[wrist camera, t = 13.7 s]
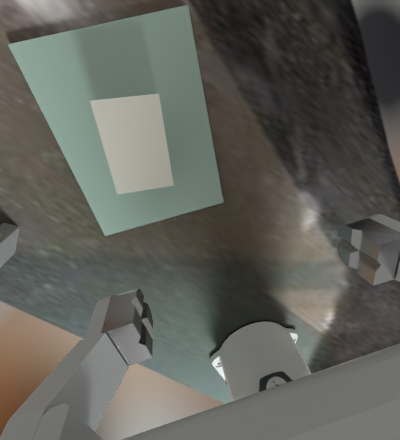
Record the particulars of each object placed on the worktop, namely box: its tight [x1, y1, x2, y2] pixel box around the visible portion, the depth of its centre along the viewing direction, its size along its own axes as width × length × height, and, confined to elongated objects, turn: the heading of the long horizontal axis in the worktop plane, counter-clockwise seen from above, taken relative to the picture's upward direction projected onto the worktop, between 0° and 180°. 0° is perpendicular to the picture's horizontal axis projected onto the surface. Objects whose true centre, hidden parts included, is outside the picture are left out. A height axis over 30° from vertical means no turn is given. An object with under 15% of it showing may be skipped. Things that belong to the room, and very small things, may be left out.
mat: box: [8, 5, 224, 236], centre depth 24 cm, size 20×16×1 cm
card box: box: [90, 94, 174, 195], centre depth 22 cm, size 6×8×5 cm
